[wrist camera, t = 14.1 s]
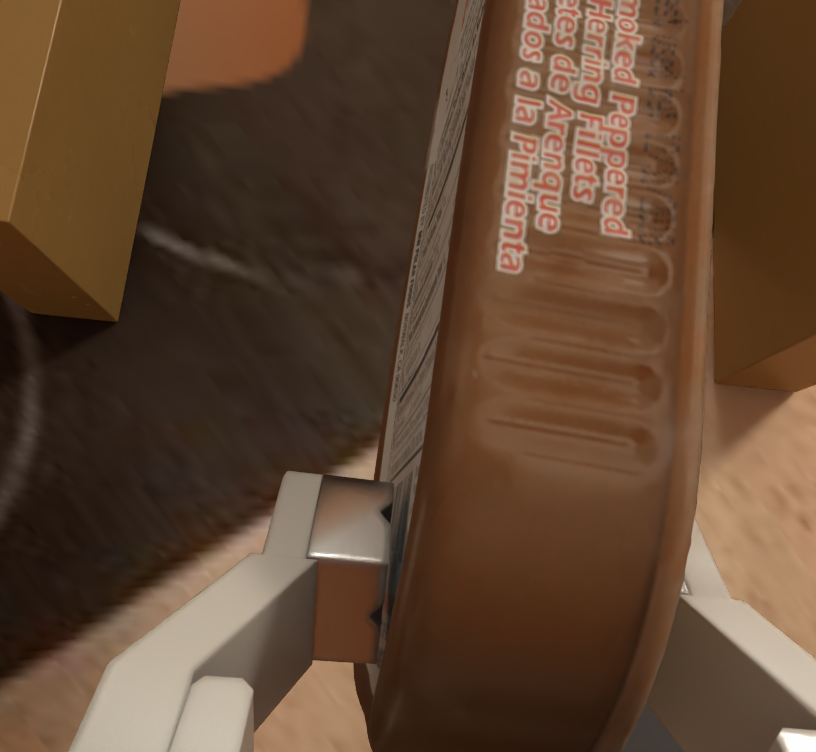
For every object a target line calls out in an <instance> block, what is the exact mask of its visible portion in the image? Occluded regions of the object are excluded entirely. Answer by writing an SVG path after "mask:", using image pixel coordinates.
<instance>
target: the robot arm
mask: <svg viewBox="0 0 816 752" xmlns="http://www.w3.org/2000/svg"><path fill="white" fill-rule="evenodd" d="M393 497H394V483H389V482H381V481H373V480H365V479H356V478H348V477H340V476H332V475H324V476H322V475H320V474H311V473H302V472H294V471H287V472H286V474H285V475H284V477H283V479H282V483H281V487H280V490H279V494H278V498H277V501H276V505H275V508H274V512H273V516H272V519H271V523H270V527H269V530H268V534H267V538H266V541H265V545H264V548H263V552H262V554H250V555H248V556H247V557H246V558H244V559H243V560H242V561H240V562H239V563H238V564H236V565H235V566H234V567H233V568H231V569H230V570H229V571H227V572H226V573H225V574H223V575H222V576H221V577H220V578H218V579H217V580H216V581H214V582H213V583H212V584H210V585H209V586H208V587H207V588H205V589H204V590H203V591H201V592H200V593H199V594H197V595H196V596H195V597H193V598H192V599H191V600H190V601H188V602H187V603H186V604H184V605H183V606H182V607H180V608H179V609H178V610H177V611H175V612H174V613H173V614H171V615H170V616H169V617H167V618H166V619H165V620H163V621H162V622H161V623H160V624H158V625H157V626H156V627H154V628H153V629H152V630H150V631H149V632H148V633H147V634H145V635H144V636H143V637H141V638H140V639H139V640H137V641H136V642H135V643H133V644H132V645H131V646H130V647H128V648H127V649H126V650H124V651H123V652H122V653H120V654H119V655H118V656H117V657H115V658H114V659H113V660H111V661H110V662H109V663H108V665H107V667H106V669H105V671H104V674H103V676H102V678H101V680H100V682H99V685H98V687H97V689H96V691H95V694H94V696H93V698H92V700H91V703H90V705H89V707H88V709H87V711H86V714H85V716H84V718H83V720H82V723H81V725H80V727H79V729H78V731H77V734H76V736H75V738H74V740H73V743H72V745H71V747H70V749H69V751H68V752H254V732H255V731H256V730H257V729H258V727H259V726H260V725H261V724H262V723H263V722H264V720H265V719H266V718H267V717H268V716H269V714H270V713H271V712H272V711H273V710H274V709H275V707H276V706H277V705H278V704H279V703H280V701H281V700H282V699H283V698H284V697H285V695H286V694H287V693H288V692H289V691H290V690H291V688H292V687H293V686H294V685H295V684H296V682H297V681H298V680H299V679H300V678H301V676H302V675H303V674H304V673H305V672H306V671H307V669H308V668H309V667H310V666H311V665H312V660H320V661H336V662H352V663H367V664H376V661H377V654H378V647H379V639H380V632H381V621H382V609H383V605H384V600H385V591H386V582H387V573H388V563H389V551H390V539H391V527H392V526H391V517H392V508H393ZM646 704H647V705H648V707H649V708H650V709H651V710H652V712H653V713H654V714H655V715H656V717H657V718H658V719H659V720H660V722H661V723H662V724H663V726H664V727H665V728H666V729H667V731H668V732H669V733H670V734H671V736H672V737H673V738H674V739H675V741H676V742H677V743H678V744H679V746H680V747H681V748H682V749H683V751H684V752H816V659H815V658H814V657H812V656H811V655H810V654H809V653H807V652H806V651H805V650H804V649H802V648H801V647H800V646H799V645H798V644H796V643H795V642H794V641H793V640H791V639H790V638H789V637H788V636H786V635H785V634H784V633H783V632H781V631H780V630H779V629H778V628H776V627H775V626H774V625H773V624H771V623H770V622H769V621H768V620H767V619H765V618H764V617H763V616H762V615H760V614H759V613H758V612H757V611H755V610H754V609H753V608H752V607H750V606H749V605H748V604H747V603H745V602H744V601H743V600H734V599H732V598H731V596H730V594H729V591H728V589H727V587H726V585H725V583H724V581H723V578H722V576H721V574H720V572H719V570H718V567H717V565H716V563H715V561H714V559H713V557H712V554H711V552H710V550H709V548H708V546H707V544H706V541H705V539H704V537H703V535H702V533H701V530H700V528H699V526H698V524H697V522H696V520H695V517H694V523H693V530H692V536H691V546H690V549H689V553H688V557H687V562H686V568H685V578H684V582H683V585H682V589H681V594H680V597H679V601H678V604H677V608H676V612H675V616H674V620H673V624H672V627H671V631H670V634H669V638H668V642H667V645H666V649H665V652H664V656H663V658H662V661H661V663H660V666H659V669H658V671H657V674H656V678H655V681H654V684H653V686H652V688H651V691H650V693H649V695H648V698H647V701H646Z"/></svg>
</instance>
